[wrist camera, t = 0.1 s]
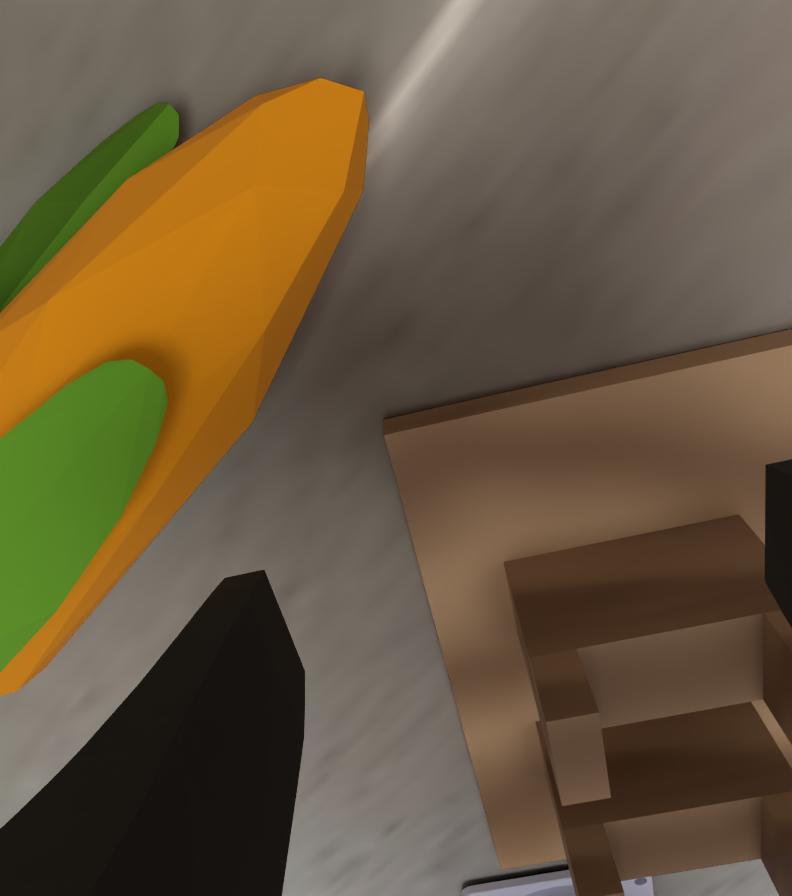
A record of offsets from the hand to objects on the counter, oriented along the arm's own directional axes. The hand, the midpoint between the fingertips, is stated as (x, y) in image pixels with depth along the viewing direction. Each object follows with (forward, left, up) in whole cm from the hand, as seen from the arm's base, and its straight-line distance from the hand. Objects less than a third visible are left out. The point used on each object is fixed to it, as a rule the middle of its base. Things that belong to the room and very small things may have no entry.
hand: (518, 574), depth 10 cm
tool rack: (-12, -4, -10) cm, 16 cm away
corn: (+1, +9, -10) cm, 14 cm away
